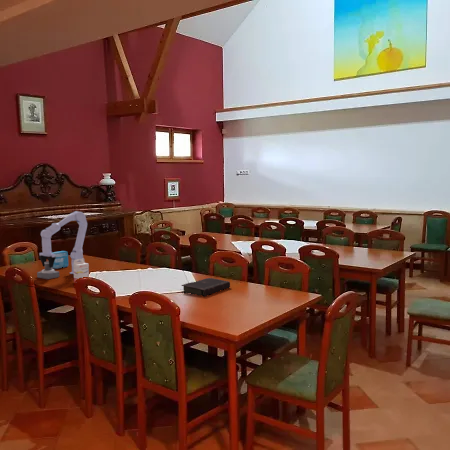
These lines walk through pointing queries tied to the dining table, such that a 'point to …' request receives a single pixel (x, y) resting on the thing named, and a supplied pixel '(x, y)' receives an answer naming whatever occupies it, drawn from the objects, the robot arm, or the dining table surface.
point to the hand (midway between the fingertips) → (47, 266)
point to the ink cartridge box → (80, 269)
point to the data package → (60, 259)
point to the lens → (47, 266)
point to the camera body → (48, 274)
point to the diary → (206, 286)
